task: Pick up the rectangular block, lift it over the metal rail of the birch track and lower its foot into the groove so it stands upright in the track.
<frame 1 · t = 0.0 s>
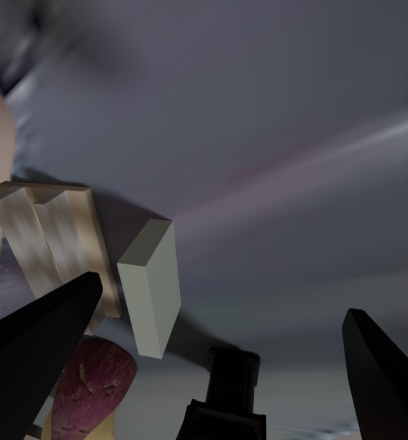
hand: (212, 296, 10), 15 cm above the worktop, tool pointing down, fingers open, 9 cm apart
track: (70, 254, 32), on the worktop
rectangular block: (167, 265, 30), on the worktop
yellow rounded lump: (95, 397, 52), on the worktop
vegetable: (108, 357, 43), on the worktop
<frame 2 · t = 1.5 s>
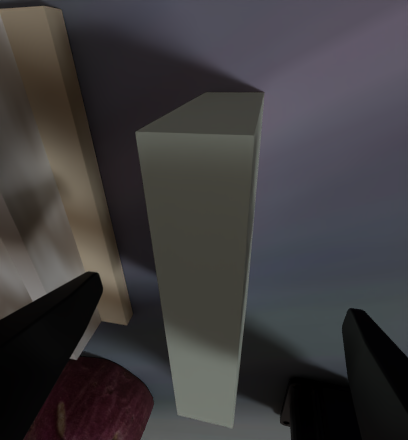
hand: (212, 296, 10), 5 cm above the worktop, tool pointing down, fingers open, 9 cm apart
track: (33, 201, 16), on the worktop
rectangular block: (230, 217, 14), on the worktop
vegetable: (107, 383, 28), on the worktop
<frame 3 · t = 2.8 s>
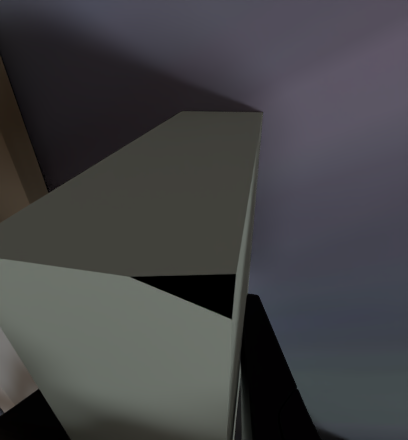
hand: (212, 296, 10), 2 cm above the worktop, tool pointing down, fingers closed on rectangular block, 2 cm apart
rectangular block: (219, 268, 11), on the worktop, touching gripper
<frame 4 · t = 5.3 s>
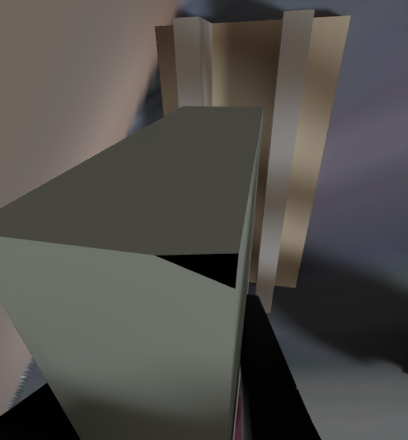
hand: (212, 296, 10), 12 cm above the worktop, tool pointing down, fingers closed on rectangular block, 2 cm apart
track: (240, 177, 19), on the worktop
rectangular block: (220, 264, 11), point 10 cm above the worktop, touching gripper
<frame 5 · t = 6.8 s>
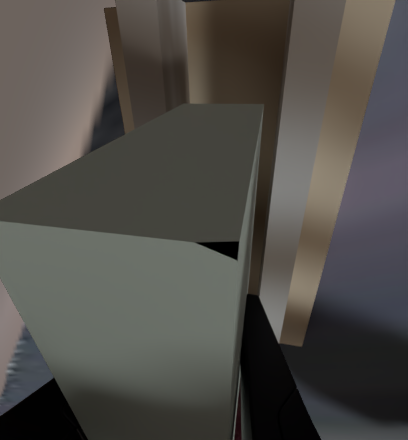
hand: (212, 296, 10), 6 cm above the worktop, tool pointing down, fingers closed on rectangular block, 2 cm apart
track: (231, 213, 15), on the worktop
rectangular block: (220, 261, 11), point 4 cm above the worktop, touching gripper
when the fingers open (4 cm above the worktop, at t = 7.8 s): rectangular block drops 2 cm, resting on track.
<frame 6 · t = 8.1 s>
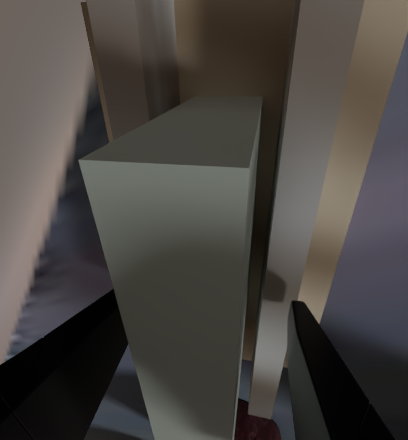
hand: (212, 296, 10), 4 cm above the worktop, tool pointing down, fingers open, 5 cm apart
track: (228, 229, 13), on the worktop
rectangular block: (225, 237, 13), point 1 cm above the worktop, touching track
vegetable: (223, 421, 25), on the worktop
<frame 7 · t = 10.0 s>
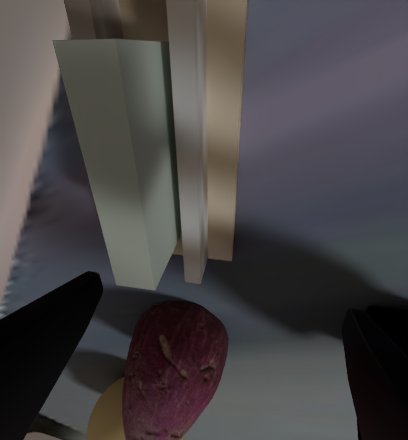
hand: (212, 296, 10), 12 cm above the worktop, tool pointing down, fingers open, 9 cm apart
track: (168, 147, 19), on the worktop
rectangular block: (163, 148, 18), point 1 cm above the worktop, touching track
yellow rounded lump: (149, 387, 40), on the worktop
vegetable: (184, 329, 31), on the worktop
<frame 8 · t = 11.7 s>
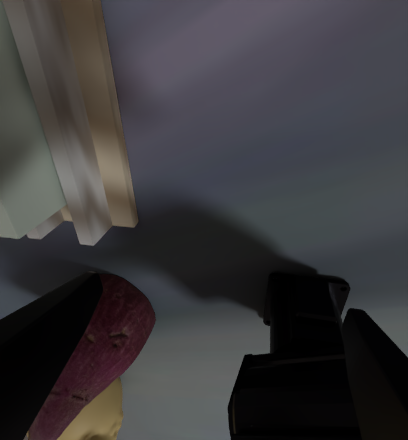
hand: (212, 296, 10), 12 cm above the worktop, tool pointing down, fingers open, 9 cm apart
track: (59, 113, 20), on the worktop
rectangular block: (49, 113, 19), point 1 cm above the worktop, touching track
yellow rounded lump: (97, 368, 40), on the worktop
vegetable: (114, 304, 31), on the worktop
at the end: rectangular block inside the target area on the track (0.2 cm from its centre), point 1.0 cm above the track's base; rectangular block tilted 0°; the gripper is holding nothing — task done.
